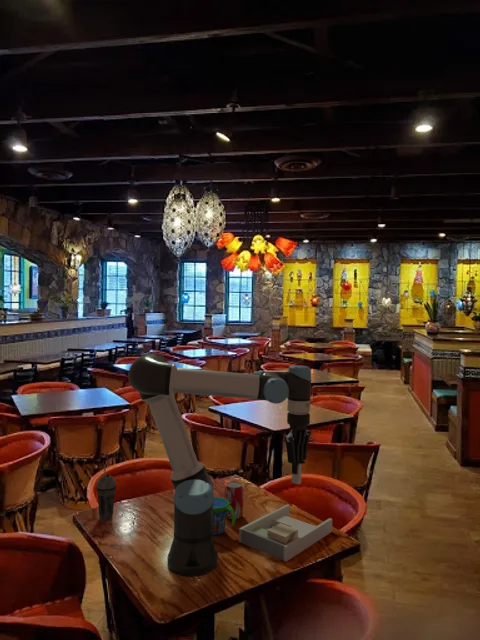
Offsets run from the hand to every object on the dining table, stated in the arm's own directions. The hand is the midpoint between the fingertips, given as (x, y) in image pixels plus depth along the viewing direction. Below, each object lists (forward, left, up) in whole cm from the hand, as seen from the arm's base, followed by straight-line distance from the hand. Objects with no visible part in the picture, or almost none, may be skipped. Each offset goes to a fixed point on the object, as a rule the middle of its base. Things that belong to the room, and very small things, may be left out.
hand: (296, 482), depth 164 cm
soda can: (+1, +28, -20) cm, 34 cm away
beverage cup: (-32, +61, -20) cm, 72 cm away
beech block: (-8, 0, -17) cm, 19 cm away
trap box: (+1, +4, -20) cm, 20 cm away
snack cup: (-13, +25, -20) cm, 35 cm away
